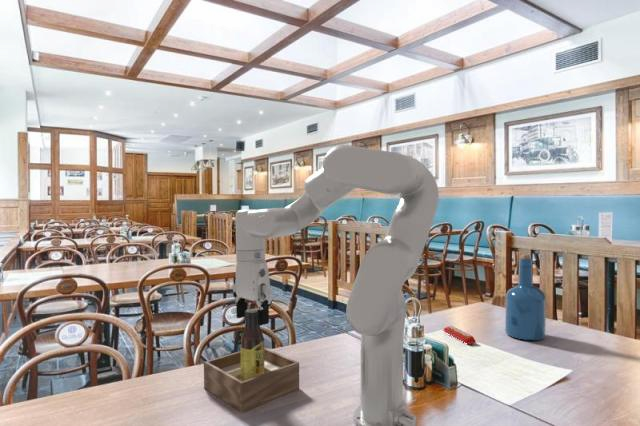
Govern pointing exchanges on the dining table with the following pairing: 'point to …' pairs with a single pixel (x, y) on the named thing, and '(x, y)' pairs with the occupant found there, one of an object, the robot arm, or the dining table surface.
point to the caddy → (250, 380)
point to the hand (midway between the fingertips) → (252, 320)
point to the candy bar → (459, 334)
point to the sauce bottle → (252, 347)
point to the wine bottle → (525, 306)
